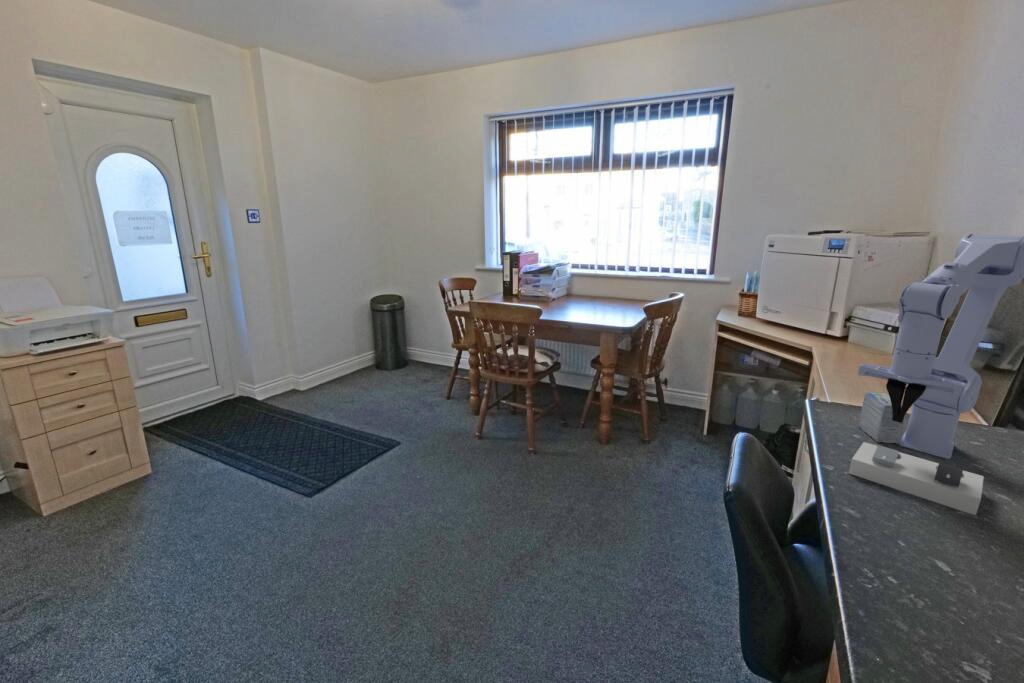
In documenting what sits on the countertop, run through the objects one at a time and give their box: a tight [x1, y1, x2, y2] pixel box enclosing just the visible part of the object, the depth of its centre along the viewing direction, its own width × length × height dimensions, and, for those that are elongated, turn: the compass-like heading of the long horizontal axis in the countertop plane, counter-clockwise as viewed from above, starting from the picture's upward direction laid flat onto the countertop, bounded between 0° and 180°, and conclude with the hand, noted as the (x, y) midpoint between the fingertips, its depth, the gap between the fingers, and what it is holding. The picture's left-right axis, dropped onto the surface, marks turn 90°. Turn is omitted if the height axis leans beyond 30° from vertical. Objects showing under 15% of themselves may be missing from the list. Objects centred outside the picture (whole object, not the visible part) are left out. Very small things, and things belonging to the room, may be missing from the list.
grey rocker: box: [872, 444, 900, 468], centre depth 84 cm, size 4×3×1 cm
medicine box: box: [857, 392, 907, 445], centre depth 101 cm, size 8×4×9 cm, turn 168°
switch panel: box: [848, 441, 984, 516], centre depth 83 cm, size 10×17×3 cm, turn 44°
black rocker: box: [934, 462, 964, 487], centre depth 78 cm, size 4×3×1 cm
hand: (897, 420), depth 87 cm, fingers closed
